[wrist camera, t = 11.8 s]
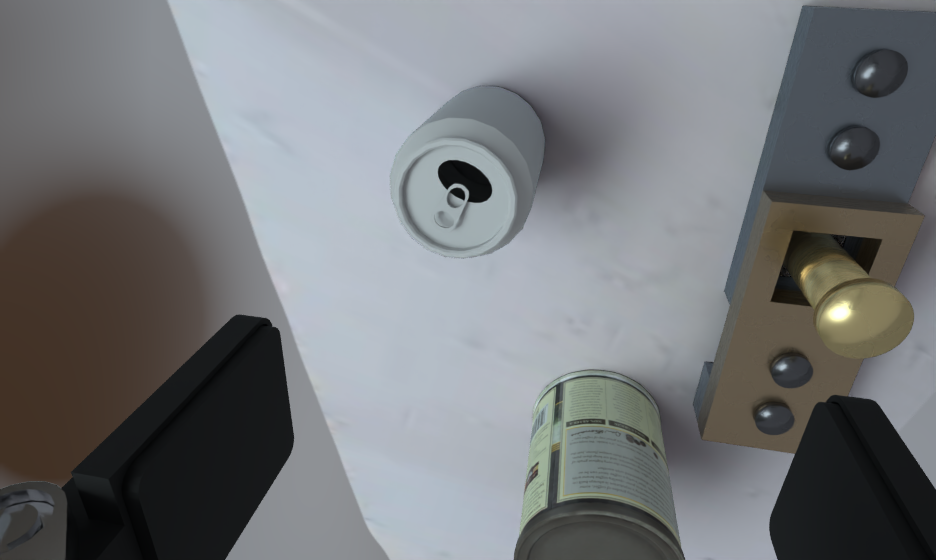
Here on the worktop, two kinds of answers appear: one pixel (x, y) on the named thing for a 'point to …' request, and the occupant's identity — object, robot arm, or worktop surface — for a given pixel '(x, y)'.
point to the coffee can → (597, 474)
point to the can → (469, 173)
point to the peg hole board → (821, 213)
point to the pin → (847, 298)
